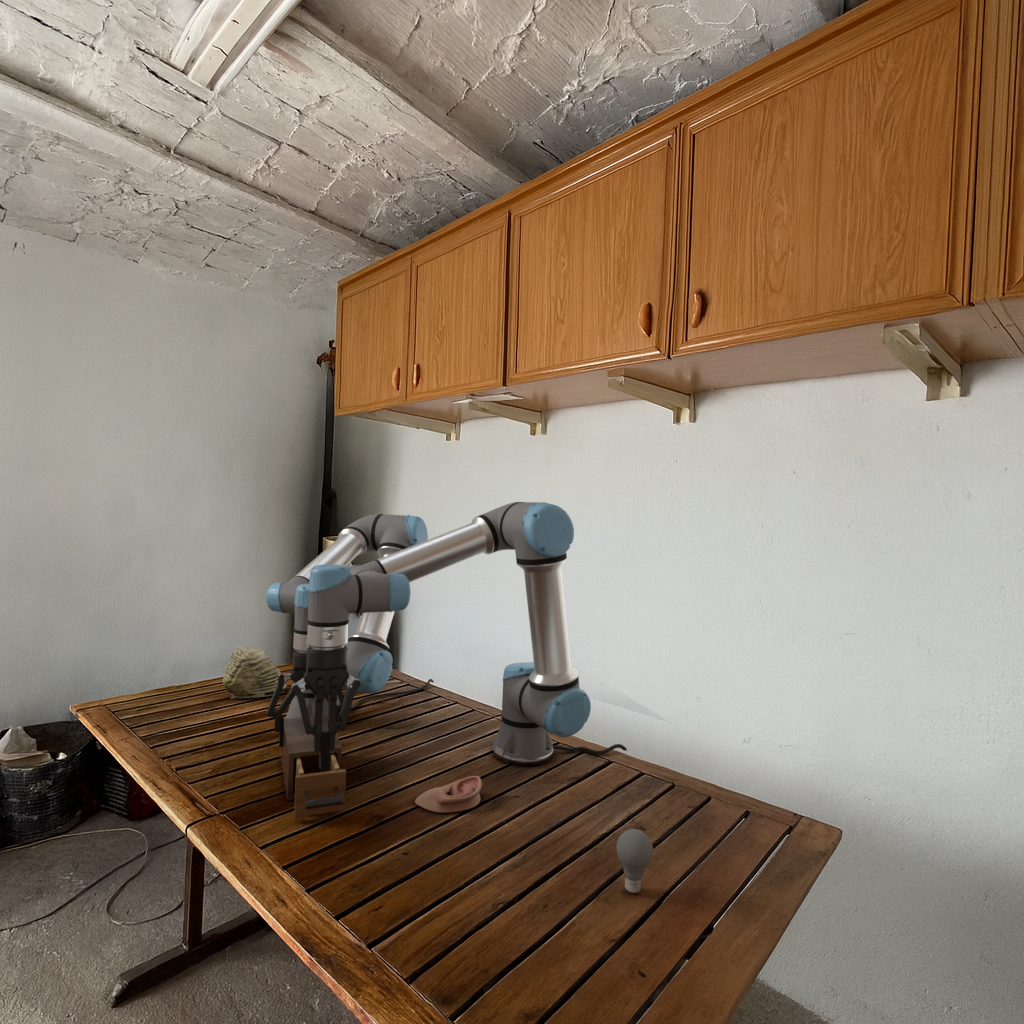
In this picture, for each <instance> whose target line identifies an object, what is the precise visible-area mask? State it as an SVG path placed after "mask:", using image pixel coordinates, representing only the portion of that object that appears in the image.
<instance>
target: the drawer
mask: <svg viewBox="0 0 1024 1024" xmlns="http://www.w3.org/2000/svg"><path fill="white" fill-rule="evenodd" d="M293 782H294V788H295V799H294V807H293V809H294V810H293V816H294V818H295V819H296V818H301V817H307V816H308V817H309V816H314V815H321V814H326V813H327V814H328V813H334V812H341V811H345V810H346V787H347V786H346V785H347V770H346V768H341V770H339V766H338V763H337V760H336V757H335V755H334V753H329V770H323V771H320V767H319V755H312V756H304V757H296V758H294V774H293Z"/></svg>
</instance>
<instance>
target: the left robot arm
mask: <svg viewBox="0 0 1024 1024" xmlns="http://www.w3.org/2000/svg"><path fill="white" fill-rule="evenodd" d="M426 540H429V535H428V528H427V525H426V523H425V521H424V519H423V518H422V517H420V516H417V515H410V514H407V515H403V514H402V515H401V514H385V513H384V514H383V513H373V514H368V515H366V516H363V517H361V518H359V519H357V520H355V521H353V522H351V523H350V524H349V525H347V526H346V527H344V528H343V529H342V530H341V531H340V532H339V533H338V535H337V539H336V540H335V541H334V542H332V543H331V544H330V545H329V546H327V547H326V548H325V549H324V550H323V551H322V552H321V553H320V554H319V555H317V556H316V557H315V558H314V559H313V560H311V561H310V562H309V563H308V564H307V565H306V566H305V567H303V568H302V569H301V570H300V571H298V573H296V574H295V576H293V577H292V578H291V579H290V580H289V581H288V582H284V581H282V582H274V583H273V584H271V585H269V588H268V590H267V593H266V596H265V601H266V604H267V607H268V608H269V610H271V611H273V612H276V613H277V612H278V613H282V614H291V615H292V614H293V615H294V628H293V646H292V647H293V649H294V650H293V652H292V669H291V671H290V672H285V673H283V672H282V671H280V673H279V674H278V683H277V686H276V688H275V691H274V694H273V695H272V696H271V699H270V701H269V704H268V707H267V709H266V715H267V717H268V718H274V732H275V733H278V746H279V748H282V747H283V733H284V719H291V718H301V717H302V715H301V711H300V707H299V702H298V698H297V696H296V695H295V694H294V692H293V691H292V687H291V686H290V689H289V691H288V692H287V694H286V695H285V697H284V699H283V700H282V701H281V703H280V704H279V706H278V707H277V705H278V703H279V699H280V697H281V694H282V693H281V692H282V689H283V687H284V683H286V684H287V683H288V681H289V679H291V680H292V683H294V682H296V683H297V682H298V681H299V680H301V679H302V678H303V675H304V673H305V671H306V663H307V648H308V647H309V645H308V644H307V631H308V603H309V591H308V588H309V579H310V571H311V569H312V568H313V567H314V566H317V565H324V564H333V565H336V564H337V565H346V566H349V564H351V562H353V561H354V560H355V559H356V558H360V557H362V556H364V555H365V554H367V553H368V552H376V553H377V555H378V557H379V559H380V558H382V557H385V556H387V555H390V554H393V553H395V552H398V551H400V550H403V549H406V548H408V547H411V546H413V545H416V544H419V543H421V542H424V541H426ZM395 612H396V611H392V612H370V613H361V616H360V618H359V622H358V625H357V629H356V632H355V633H354V634H352V635H350V636H348V643H347V644H346V647H347V648H348V652H347V669H348V671H349V674H350V676H352V677H354V678H358V679H359V681H360V683H361V684H360V686H359V688H358V689H357V691H356V692H355V693H357V694H369V696H365V697H363V698H360V699H359V700H358V701H356V703H355V704H354V705H352V706H351V709H350V711H351V710H355V709H356V708H357V707H358V705H360V703H362V702H364V701H368V700H372V699H377V698H383V697H389V696H391V697H392V696H398V695H399V696H400V695H406V694H411V693H415V692H419V691H422V690H424V689H427V688H428V687H429V685H430V683H434V681H435V680H433V679H432V678H429V679H428V680H427V682H426V684H425V685H423V686H421V687H418V688H413V689H409V690H404V691H397V692H387V693H381V694H376V693H379V692H380V691H381V690H382V689H383V688H384V687H385V685H386V684H387V683H388V681H389V679H390V677H391V675H392V671H393V662H394V661H393V656H392V654H391V652H389V651H390V645H389V644H388V643H387V639H388V637H389V636H388V635H389V633H390V630H391V629H390V628H391V625H392V621H393V618H394V616H395ZM347 688H348V687H347V681H346V682H345V684H344V685H343V686H342V688H341V689H340V690H339V692H337V711H336V723H338V719H339V716H340V712H341V708H342V705H343V701H344V697H345V694H344V691H346V690H347ZM303 694H304V697H305V701H306V706H307V710H308V714H309V717H312V716H314V712H315V694H314V693H313V692H312V690H311V689H310V688H309V686H308V685H307V684H305V691H304V692H303ZM370 694H371V695H370ZM372 694H375V695H372ZM328 704H329V695H328V694H326V695H324V696H323V715H328ZM276 707H277V709H276ZM288 707H289V708H288ZM287 709H288V711H287ZM286 711H287V713H286ZM284 713H286V715H285V716H284Z"/></svg>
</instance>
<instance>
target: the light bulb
mask: <svg viewBox="0 0 1024 1024" xmlns="http://www.w3.org/2000/svg"><path fill="white" fill-rule="evenodd" d="M615 849H616V854H617V857H618V859H619V861H620V863H621V865H622V867H623V873H624V874H623V875H624V876H625V878H624V888H625V890H627V891H628V892H630V893H634V894H635V893H639V892H640V891H641V889H642V887H641V886H642V879H643V877H644V875H645V871H646V868H647V867H648V866H649V864H650V863H651V861H652V859H653V855H654V847H653V843H652V841H651V838H649V836H648V835H647V834H646V833H645V832H643V831H642V830H641V829H636V828H629V829H627V830H625V831H623V832H622V833H621V834H620V835H619V837H618V839H617V841H616V847H615Z"/></svg>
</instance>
